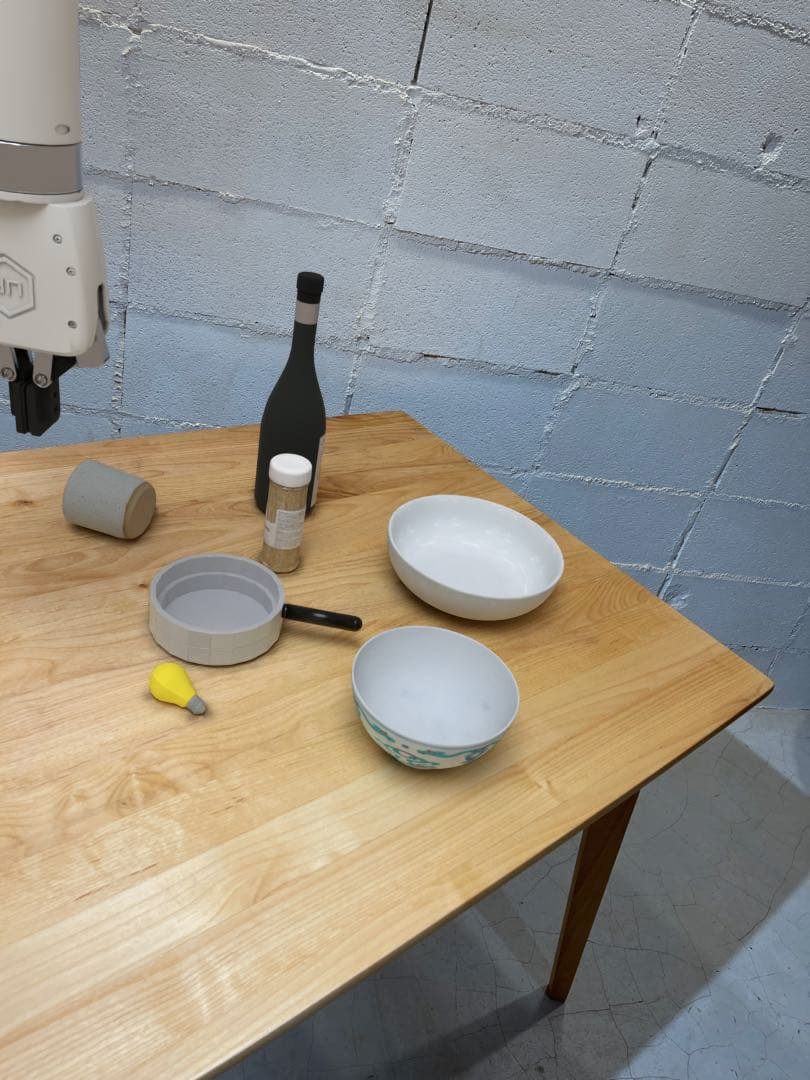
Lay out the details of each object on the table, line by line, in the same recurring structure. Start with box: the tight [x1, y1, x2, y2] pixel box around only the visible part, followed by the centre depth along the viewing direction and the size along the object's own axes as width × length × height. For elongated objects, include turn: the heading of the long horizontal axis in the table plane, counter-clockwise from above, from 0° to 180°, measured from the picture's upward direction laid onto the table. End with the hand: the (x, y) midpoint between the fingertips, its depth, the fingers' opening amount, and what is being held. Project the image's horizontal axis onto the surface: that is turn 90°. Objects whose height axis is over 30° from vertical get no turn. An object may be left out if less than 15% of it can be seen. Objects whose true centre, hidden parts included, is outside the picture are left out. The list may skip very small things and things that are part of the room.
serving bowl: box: [386, 494, 565, 621], centre depth 96 cm, size 21×21×7 cm
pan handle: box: [281, 602, 364, 633], centre depth 83 cm, size 9×2×2 cm, turn 86°
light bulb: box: [148, 661, 207, 715], centre depth 74 cm, size 3×6×4 cm, turn 62°
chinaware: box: [350, 625, 521, 770], centre depth 73 cm, size 15×15×8 cm
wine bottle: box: [253, 270, 327, 516], centre depth 98 cm, size 8×8×30 cm
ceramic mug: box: [61, 459, 157, 540], centre depth 94 cm, size 11×8×8 cm
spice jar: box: [260, 454, 312, 573], centre depth 92 cm, size 5×5×13 cm
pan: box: [148, 552, 286, 667], centre depth 83 cm, size 13×13×4 cm
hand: (37, 427), depth 61 cm, fingers closed
